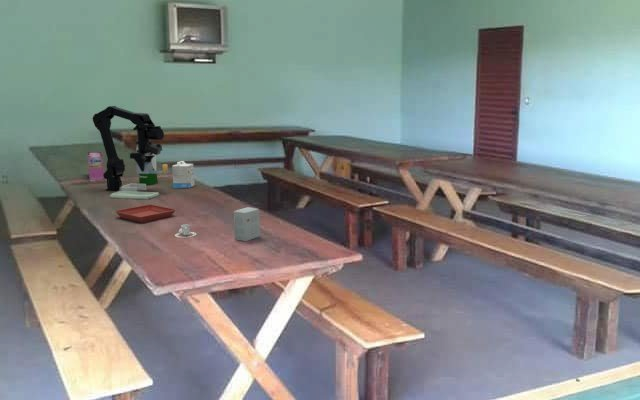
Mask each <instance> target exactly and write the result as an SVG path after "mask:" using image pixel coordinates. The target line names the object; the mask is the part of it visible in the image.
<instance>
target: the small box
mask: <svg viewBox="0 0 640 400" xmlns="http://www.w3.org/2000/svg"><path fill="white" fill-rule="evenodd" d="M260 228H261V227H260V209H259V208H255V207H249V206H248V207H243V208H240V209H237V210H233V230H234V231H233V234H234V240H237V241H242V242H248V241H251V240H253V239H256V238H259V237H260V236H261V234H260V231H261V229H260Z"/></svg>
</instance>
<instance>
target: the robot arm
mask: <svg viewBox="0 0 640 400" xmlns="http://www.w3.org/2000/svg"><path fill="white" fill-rule="evenodd" d="M114 117H118V118H121V119H125V120H127V121H130V122H131V123H132V124H134V125H135V127H133V128H132V130H133V131H136V135H137V141H135V144H136V145H137V149H136V151H137V152H136V151H133V152H131V153H130V154H129V159H133V160H134V161H135V162H136V163H137V164H138V166H139V168H140V169H141V171H142V172H144V165H145V162H151V161H152V158H153V157H155V155H156V156H158V155H160V154H161V152H162V151H163V147H162V144H161V143H157V144H153V141H162V140H163V139H164V137H165V132H164V131H163V129H162V127H161V125H157V126H156V125H155V123H154V122H153V120H152V119H151V116H150V115H149V114H148V113H146V112H145V113H144V112H134V111H130V110H127V109H125V108H121V107H118V106H116V105H110V106H107V107H106V108H105V109H102V110H101V111H99V112H98V113H94V114H93V116H92V122H93V125H94V127H95V128H96V130H98V132H99V133H100V137H101V139H102V144H103V147H104V150H105V151H104V152H105V153H106V154H105V155H106V157H107V160H106V161H107V162H106V171H104V174H103V176H104V180H106V187H107V188H106V189H105V191H114V192H115V191H116V192H118V191H120V187H121V186H123V181H122V177H123V176H124V172H125V171H126V168H125V167H126V165H125V161H124V159H120V158H119V156H118V153H117V150H116V146H115V143H114V139H113V135H112V132H111V125H112V120H113V118H114ZM152 140H153V141H152ZM153 154H154V155H153Z"/></svg>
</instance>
